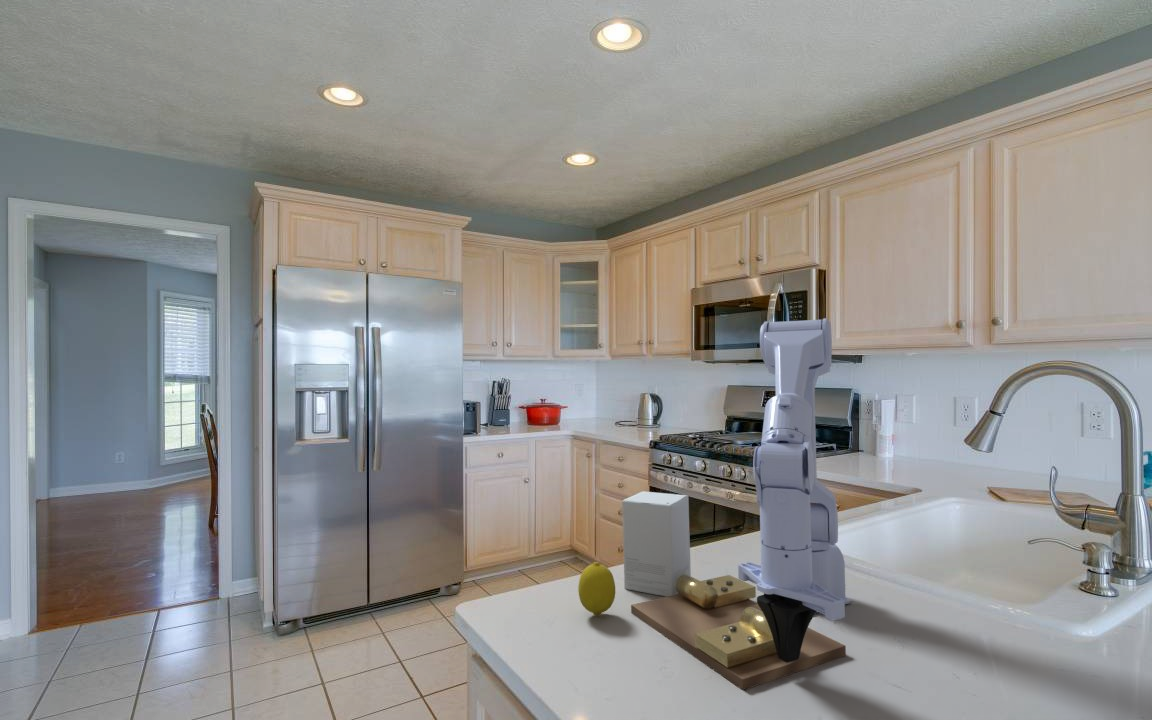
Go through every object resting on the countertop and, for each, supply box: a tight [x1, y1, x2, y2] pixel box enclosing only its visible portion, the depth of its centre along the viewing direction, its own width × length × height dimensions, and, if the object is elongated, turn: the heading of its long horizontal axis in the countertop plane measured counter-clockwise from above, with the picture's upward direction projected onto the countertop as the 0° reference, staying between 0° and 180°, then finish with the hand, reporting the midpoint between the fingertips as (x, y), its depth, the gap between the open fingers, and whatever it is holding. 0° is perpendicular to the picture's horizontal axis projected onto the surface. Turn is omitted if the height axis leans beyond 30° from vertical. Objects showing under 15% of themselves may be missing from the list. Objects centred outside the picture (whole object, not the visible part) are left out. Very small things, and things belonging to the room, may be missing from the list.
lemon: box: [577, 561, 616, 617], centre depth 86 cm, size 6×6×8 cm
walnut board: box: [630, 593, 847, 691], centre depth 80 cm, size 17×24×1 cm
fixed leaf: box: [676, 574, 757, 609], centre depth 89 cm, size 11×7×3 cm
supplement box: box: [621, 490, 692, 597], centre depth 98 cm, size 9×9×15 cm
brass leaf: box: [695, 607, 777, 668], centre depth 73 cm, size 11×6×3 cm, turn 116°
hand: (788, 658), depth 68 cm, fingers closed
